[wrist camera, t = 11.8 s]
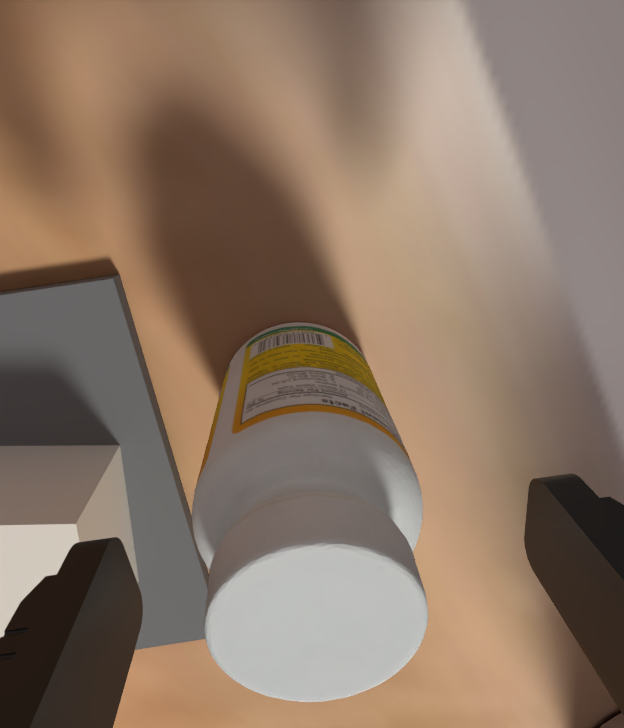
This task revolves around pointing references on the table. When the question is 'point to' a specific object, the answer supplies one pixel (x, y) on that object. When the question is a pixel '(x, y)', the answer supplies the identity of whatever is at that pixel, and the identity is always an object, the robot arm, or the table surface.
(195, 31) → the table surface
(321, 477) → the supplement bottle
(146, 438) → the mat
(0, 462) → the riser block
